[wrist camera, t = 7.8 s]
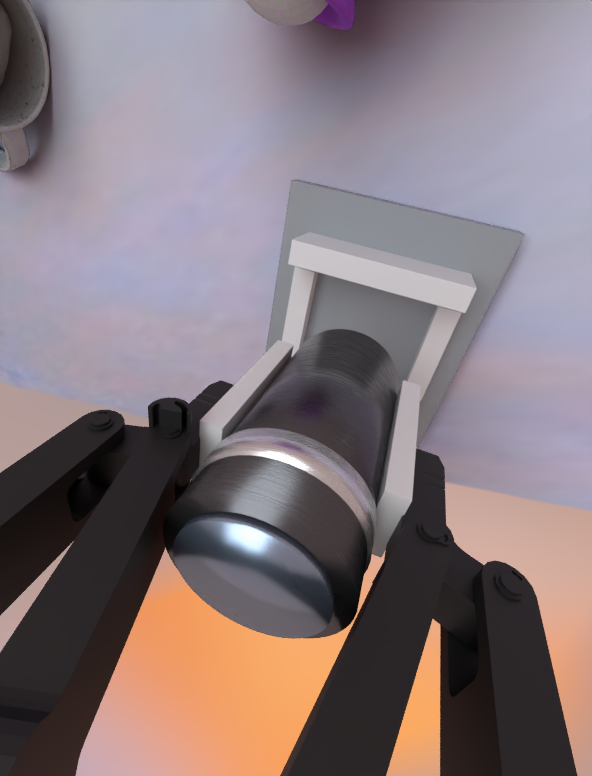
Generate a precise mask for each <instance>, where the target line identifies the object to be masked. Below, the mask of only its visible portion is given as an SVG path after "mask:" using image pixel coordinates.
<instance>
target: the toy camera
mask: <svg viewBox="0 0 592 776" xmlns="http://www.w3.org/2000/svg"><path fill="white" fill-rule="evenodd" d="M245 1H246V2H247V3H248V4H249V6H250V7H251V8H252V9H253V10H254V11H255V12H257V13H258V14H260V15H261V16H262V17H264V18H265V19H267V20H269V21H271V22H273V23H276V24H278V25H284V26H296V25H303V24H305V23H307V22H309V21H311V20H315V21H317V22H320V23H322V24H324V25H327V26H329V27H332V28H335V29H340V30H348V29H350V28H352V26H353V23H354V18H355V0H245Z"/></svg>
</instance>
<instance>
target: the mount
mask: <svg viewBox="0 0 592 776" xmlns="http://www.w3.org/2000/svg"><path fill="white" fill-rule="evenodd" d="M523 236H524V234H523V233H521V232H520V231H515V230H511V229H507V228H503V227H498V226H494V225H490V224H485V223H481V222H477V221H473V220H468V219H464V218H460V217H455V216H451V215H447V214H443V213H438V212H434V211H430V210H425V209H421V208H417V207H413V206H408V205H404V204H400V203H395V202H391V201H387V200H382V199H378V198H374V197H370V196H365V195H361V194H357V193H352V192H348V191H344V190H340V189H335V188H331V187H327V186H322V185H318V184H314V183H310V182H305V181H301V180H291V187H290V193H289V200H288V207H287V213H286V220H285V227H284V233H283V240H282V247H281V253H280V260H279V267H278V273H277V280H276V287H275V293H274V300H273V307H272V313H271V320H270V327H269V333H268V340H267V346H266V352H267V351H268V350H269V349H270V348H271V347H272V346H273V345H274V344H275V343H276V342H277V341H278V340H280V341H283V342H286V343H289V344H292V345H294V347H293V352H292V357H293V355H294V354H295V353H296V352H297V350H298V349H299V348H300V347H301V346H302V344H303V343H304V342H305V341H307V340H308V339H309V338H310V337H312V336H314V335H315V334H318V333H320V332H323V331H326V330H332V329H347V330H353V331H357V332H360V333H362V334H365V335H367V336H369V337H371V338H372V339H374V340H375V341H377V342H378V343H379V344H380V345H381V346H382V347H383V348H384V349H385V350H386V351H387V352H388V353H389V355H390V357H391V358H392V360H393V362H394V364H395V367H396V370H397V374H398V389H397V393H398V391H399V388H400V386H401V384H402V381H403V380H405V381H408V382H411V383H414V384H417V385H420V386H421V389H420V403H419V416H418V429H417V442H416V446H417V447H419V445H420V443H421V441H422V439H423V437H424V435H425V433H426V431H427V429H428V427H429V425H430V423H431V421H432V419H433V417H434V415H435V413H436V411H437V409H438V407H439V405H440V403H441V401H442V399H443V397H444V395H445V393H446V391H447V389H448V387H449V385H450V383H451V381H452V379H453V377H454V375H455V373H456V371H457V369H458V367H459V365H460V363H461V361H462V358H463V356H464V354H465V352H466V350H467V348H468V346H469V344H470V342H471V340H472V338H473V336H474V334H475V332H476V330H477V328H478V326H479V324H480V322H481V320H482V318H483V316H484V314H485V312H486V310H487V308H488V306H489V304H490V302H491V300H492V298H493V296H494V294H495V292H496V290H497V288H498V286H499V284H500V282H501V280H502V278H503V276H504V274H505V272H506V270H507V268H508V266H509V264H510V262H511V260H512V258H513V256H514V254H515V252H516V250H517V248H518V246H519V244H520V242H521V240H522V238H523ZM292 357H291V358H292ZM396 396H397V395H396Z"/></svg>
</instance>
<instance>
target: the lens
mask: <svg viewBox="0 0 592 776" xmlns="http://www.w3.org/2000/svg"><path fill="white" fill-rule="evenodd" d="M397 389H398V374H397V370H396V367H395V364H394V362H393V360H392V358H391V357H390V355H389V353H388V352H387V351H386V350H385V349H384V348H383V347H382V346H381V345H380V344H379V343H378V342H377V341H375V340H374V339H372V338H371V337H369V336H367V335H365V334H362V333H360V332H357V331H353V330H347V329H332V330H326V331H323V332H320V333H318V334H315V335H314V336H312V337H310V338H309V339H308V340H307V341H305V342H304V343H303V344H302V346H301V347H300V348H299V349H298V350H297V352H296V353H295V354H294V355H293V357H292V358H291V359H290V360H289V362H288V363H287V364H286V365H285V367H284V368H283V369H282V370H281V372H280V373H279V374H278V375H277V377H276V378H275V379H274V380H273V382H272V383H271V384H270V385H269V387H268V388H267V389H266V390H265V391H264V393H263V394H262V395H261V396H260V398H259V399H258V400H257V401H256V403H255V404H254V405H253V406H252V408H251V409H250V410H249V411H248V413H247V414H246V415H245V416H244V418H243V419H242V420H241V421H240V423H239V424H238V425H237V426H236V428H235V429H234V430H233V431H232V433H231V434H230V435H229V436H228V437H226V438H225V439H223V440H222V441H221V442H220V443H219V444H218V445H217V446H216V447H215V448H214V449H213V451H212V452H211V453H210V454H209V456H208V457H207V458H206V459H205V460H204V462H203V463H202V464H201V465H200V467H199V468H198V469H197V470H196V471H195V473H194V475H193V477H192V479H191V482H190V485H189V486H188V487H187V489H186V490H185V491H184V492H183V494H182V495H181V496H180V497H179V499H178V500H177V501H176V502H175V504H174V505H173V506H172V507H171V509H170V510H169V511H168V513H167V515H166V517H165V519H164V523H163V539H164V543H165V547H166V549H167V552H168V554H169V556H170V558H171V560H172V561H173V563H174V565H175V566H176V568H177V569H178V570H179V572H180V574H181V575H182V577H183V578H184V580H185V581H186V583H187V584H188V585H189V586H190V588H191V589H192V590H193V591H194V592H195V593H196V594H197V595H198V596H199V597H200V598H201V599H202V600H204V601H205V602H206V603H207V604H209V605H210V606H211V607H213V608H214V609H215V610H216V611H218V612H219V613H221V614H222V615H224V616H226V617H227V618H229V619H231V620H233V621H234V622H237V623H238V624H240V625H243V626H245V627H247V628H249V629H252V630H255V631H257V632H260V633H264V634H267V635H272V636H276V637H282V638H320V637H326V636H330V635H333V634H336V633H338V632H340V631H342V630H343V629H345V628H346V627H347V626H348V625H349V624H350V623H351V622H352V620H353V619H354V617H355V615H356V612H357V608H358V603H359V597H360V592H361V586H362V581H363V576H364V573H365V572H366V570H367V569H368V566H369V563H370V560H371V554H372V549H373V543H374V537H375V531H376V525H377V510H376V504H377V498H378V493H379V488H380V482H381V477H382V471H383V466H384V460H385V455H386V449H387V444H388V438H389V433H390V428H391V422H392V417H393V411H394V406H395V400H396V395H397Z"/></svg>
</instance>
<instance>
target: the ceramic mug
mask: <svg viewBox="0 0 592 776" xmlns="http://www.w3.org/2000/svg"><path fill="white" fill-rule="evenodd" d="M49 79H50V67H49V58H48V50H47V45H46V41H45V38H44V35H43V31H42V29H41V26H40V23H39V21H38V19H37V17H36V14H35V12H34V10H33V8H32V6H31V4H30V2H29V1H28V0H0V137H1V140H2V143H3V147H4V150H5V151H3V150H2V149H0V171H3V172H9V171H13V170H15V169H16V168H18V167H20V166H22V165H25V164H26V162H27V161H28V159H29V155H30V151H29V146H28V142H27V138H26V135H25V132H24V129H23V128H24V127H26V126H27V125H29V124H30V123H32V121H33V120H34V119H35V118H36V117H37V116H38V115H39V113H40V112H41V110H42V108H43V106H44V103H45V101H46V99H47V93H48V88H49Z"/></svg>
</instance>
